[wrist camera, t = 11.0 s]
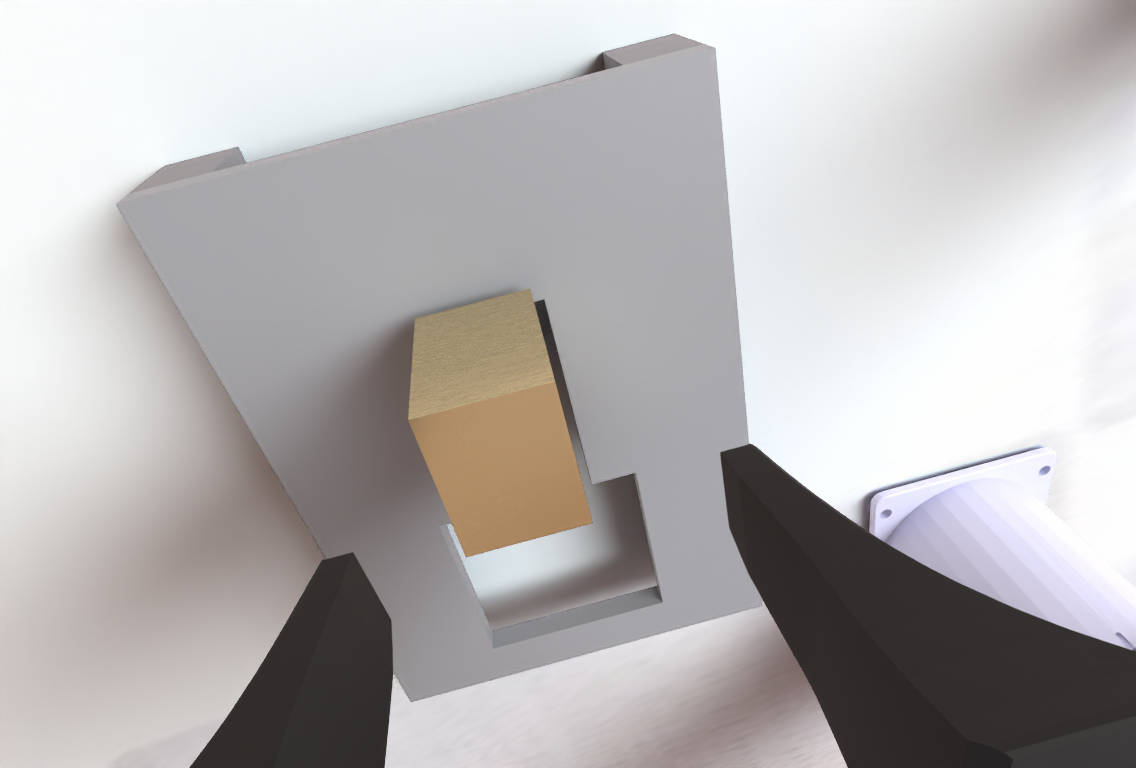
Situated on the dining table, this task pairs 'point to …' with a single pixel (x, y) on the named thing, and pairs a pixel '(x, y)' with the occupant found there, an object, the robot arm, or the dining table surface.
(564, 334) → the keyhole board
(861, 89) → the dining table surface
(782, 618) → the robot arm
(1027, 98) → the dining table surface
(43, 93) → the dining table surface
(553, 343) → the keyhole peg
